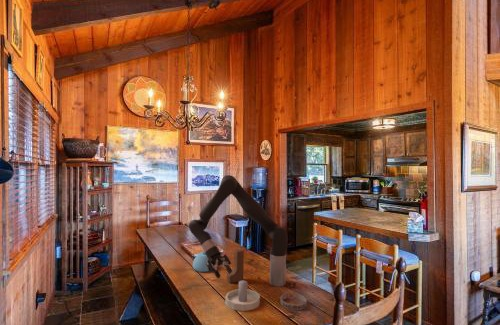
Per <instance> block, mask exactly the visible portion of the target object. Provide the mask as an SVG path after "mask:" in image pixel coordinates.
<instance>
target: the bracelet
mask: <svg viewBox="0 0 500 325" xmlns="http://www.w3.org/2000/svg"><path fill="white" fill-rule="evenodd" d="M296 298H297V299H296ZM287 299H288V293H287V292H285V293H283V294H282V295H280V299H279V300H280V302H279V303H280V306H282V307H283V306H284V307H285V308H284V307H283V308H284V309H286V308H287V310H290V309H291V310H290V311H302V309H303V310H305V309H307V307H308V299H307V297H306V296H304V295H302V294H300V293H297V292H295V293H294V299H296V300H300V301H302V303H300V304H293V303H289V302H286V301H284V300H287ZM304 302H305V303H304Z"/></svg>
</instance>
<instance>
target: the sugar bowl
mask: <svg viewBox="0 0 500 325" xmlns="http://www.w3.org/2000/svg"><path fill="white" fill-rule="evenodd" d="M207 261H208V258H207V256H206V254H205V253H204V251H203V250H202V251H201V252H198V253H197V254H196V256H195V257H194V259H193V261H192V268H193V270H194V271H196V272H199V273H208V272H210V271H209V269H208V267H207V265H206V262H207ZM212 266H213V264H212Z"/></svg>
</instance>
